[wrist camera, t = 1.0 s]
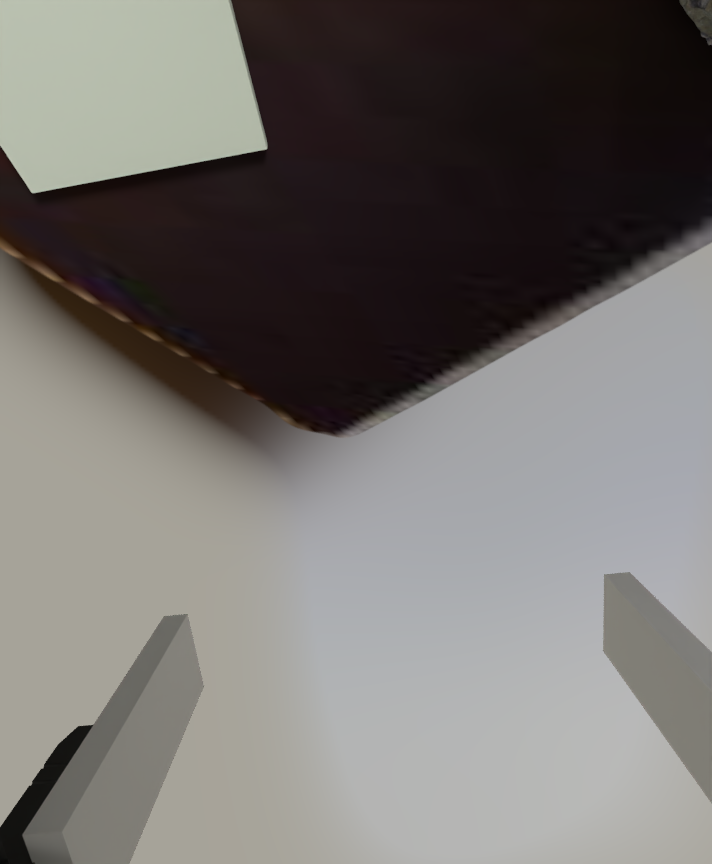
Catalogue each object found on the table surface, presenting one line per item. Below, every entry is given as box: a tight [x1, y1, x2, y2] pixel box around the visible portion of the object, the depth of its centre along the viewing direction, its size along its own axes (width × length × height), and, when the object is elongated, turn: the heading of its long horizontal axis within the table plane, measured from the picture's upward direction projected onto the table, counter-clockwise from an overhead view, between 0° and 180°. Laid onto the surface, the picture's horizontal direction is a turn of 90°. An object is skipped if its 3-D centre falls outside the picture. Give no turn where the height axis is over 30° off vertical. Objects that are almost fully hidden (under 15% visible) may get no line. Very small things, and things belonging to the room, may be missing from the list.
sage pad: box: [0, 0, 267, 193], centre depth 26 cm, size 16×16×1 cm
